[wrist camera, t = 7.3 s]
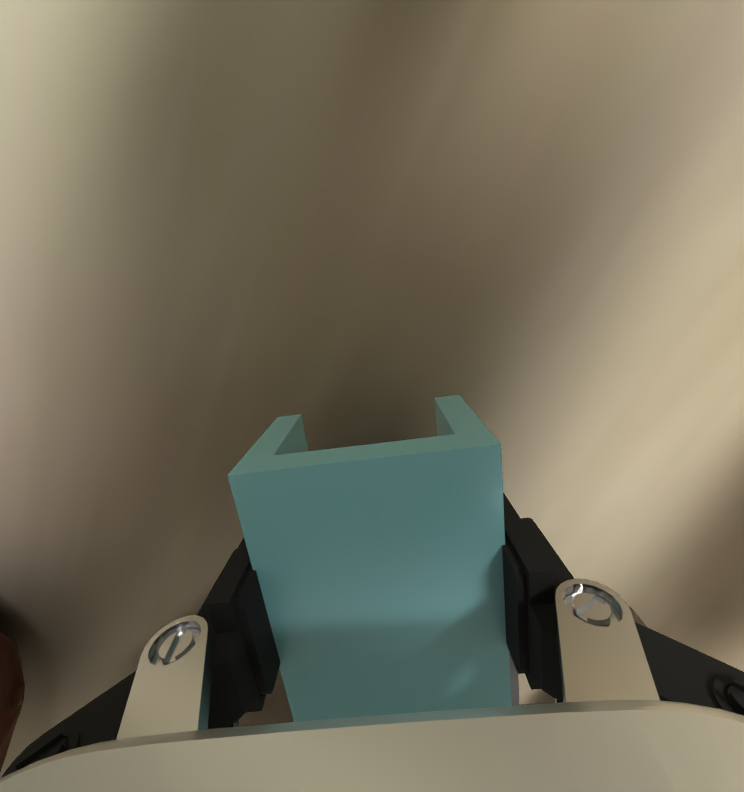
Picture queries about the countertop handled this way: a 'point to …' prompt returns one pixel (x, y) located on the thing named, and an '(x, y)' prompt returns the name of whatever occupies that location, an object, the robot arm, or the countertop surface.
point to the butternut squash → (9, 692)
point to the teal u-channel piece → (381, 567)
